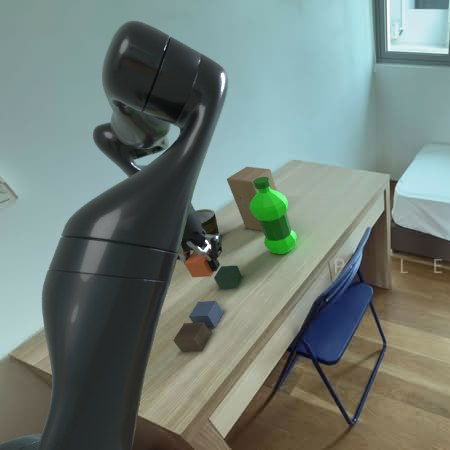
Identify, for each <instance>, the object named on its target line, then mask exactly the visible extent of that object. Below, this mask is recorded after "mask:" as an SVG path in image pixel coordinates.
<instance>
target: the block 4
mask: <svg viewBox="0 0 450 450" xmlns="http://www.w3.org/2000/svg"><path fill="white" fill-rule="evenodd" d="M213 279H214V281H215V283H216V284H217V287H218V288H219V290H235V289H237V288H238V287H239V285H240V283H241V281H242V279H243V274H242V272H241V271H240V268H239V265H220V266H219V268H218V270H217V271H216V274H215V275H214V277H213Z"/></svg>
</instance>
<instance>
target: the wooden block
mask: <svg viewBox="0 0 450 450" xmlns="http://www.w3.org/2000/svg"><path fill="white" fill-rule="evenodd" d="M259 177H268V178H269V180H270V183H271V185H270V186H269V187H270V189H273V190H275V191H278V190H277V186H276V184H275V180H274V176H273V173H272V170H271V169H270V168H265V167H264V168H263V167H254V166H245V167H243V168H241V169H240V170H238V171H237V172H235V173H234V174H232V175H230V176H229V177H227V178H226V182H227V184H228V187H229V190H230V192H231V194H232V196H233V199H234V202H235V204H236V206H237V209H238V212H239V214H240V217H241V220H242V222H243V224H244V227H245V228H246V229H248V230H254V231H259V232H263V229H262V226H261V224H260V221H259V220H258V219H257V218H256V217H255V216H254V215H253V214H252V212H251V210H250V203H251V201H252V199H253V198H254V196H255V195H256V194H257V193H258V189H256V188H255V186H254V184H253V181H254V180H255V179H257V178H259Z"/></svg>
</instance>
